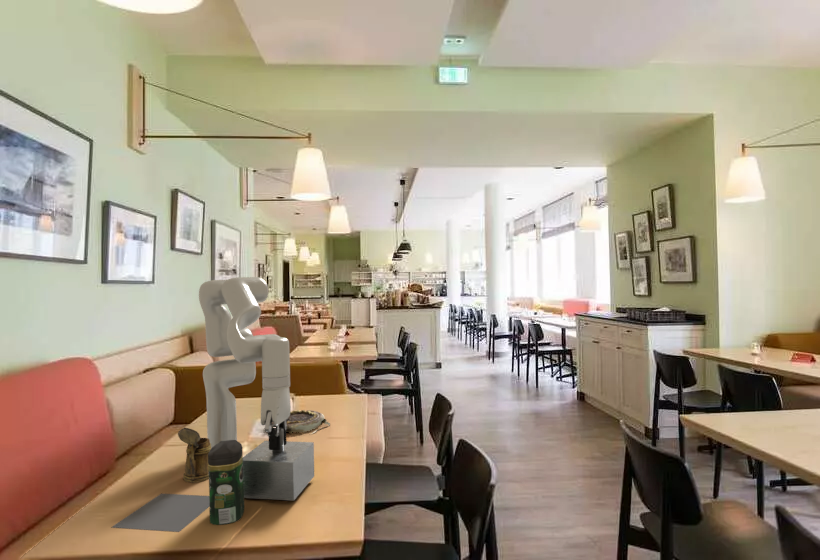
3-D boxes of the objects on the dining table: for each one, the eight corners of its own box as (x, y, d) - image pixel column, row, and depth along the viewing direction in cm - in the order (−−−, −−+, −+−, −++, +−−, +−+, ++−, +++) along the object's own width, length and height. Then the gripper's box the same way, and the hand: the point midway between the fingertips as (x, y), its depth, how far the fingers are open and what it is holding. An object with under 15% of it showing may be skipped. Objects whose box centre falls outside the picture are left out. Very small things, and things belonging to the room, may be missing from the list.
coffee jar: (214, 510, 123) (212, 438, 123) (246, 506, 124) (244, 436, 124) (205, 529, 113) (203, 452, 113) (240, 525, 115) (238, 449, 115)
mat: (111, 529, 114) (111, 527, 114) (161, 495, 132) (161, 493, 132) (179, 534, 111) (179, 531, 111) (221, 498, 129) (221, 496, 129)
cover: (239, 497, 127) (238, 437, 126) (265, 473, 142) (264, 420, 141) (293, 500, 124) (292, 439, 124) (314, 476, 139) (313, 421, 139)
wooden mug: (170, 491, 134) (168, 428, 134) (191, 472, 148) (189, 414, 148) (201, 490, 134) (200, 427, 134) (219, 471, 148) (218, 413, 148)
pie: (294, 442, 174) (294, 429, 174) (244, 432, 188) (244, 420, 188) (343, 422, 197) (343, 410, 197) (296, 414, 212) (295, 403, 212)
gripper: (276, 375, 141) (277, 436, 142) (249, 388, 125) (251, 457, 125) (300, 375, 140) (301, 437, 140) (276, 389, 124) (277, 459, 124)
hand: (277, 446), depth 133 cm, fingers closed on cover, 3 cm apart
